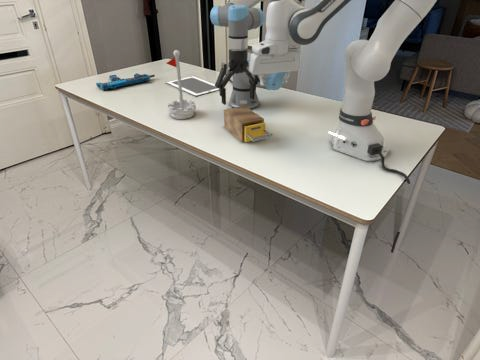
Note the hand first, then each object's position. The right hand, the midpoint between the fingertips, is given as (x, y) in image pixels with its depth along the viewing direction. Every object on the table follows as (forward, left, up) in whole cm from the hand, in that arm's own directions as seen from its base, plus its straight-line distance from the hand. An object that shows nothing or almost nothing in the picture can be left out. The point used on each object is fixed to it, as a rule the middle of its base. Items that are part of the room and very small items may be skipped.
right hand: (273, 83), depth 132 cm
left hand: (+15, +6, -10) cm, 19 cm away
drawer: (+5, +8, -22) cm, 24 cm away
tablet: (+80, -8, -23) cm, 84 cm away
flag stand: (+44, +19, -23) cm, 53 cm away
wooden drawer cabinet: (+11, +7, -23) cm, 26 cm away
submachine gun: (+112, +23, -23) cm, 117 cm away
